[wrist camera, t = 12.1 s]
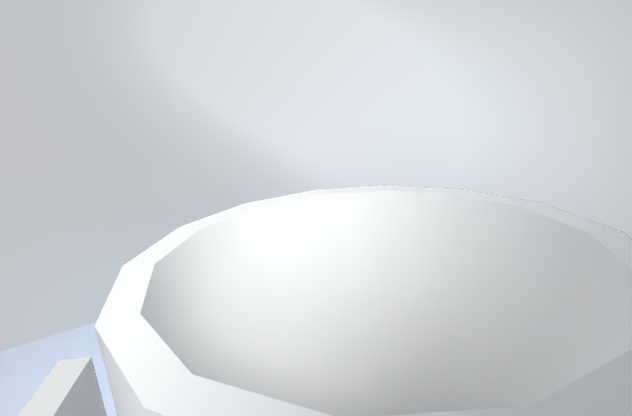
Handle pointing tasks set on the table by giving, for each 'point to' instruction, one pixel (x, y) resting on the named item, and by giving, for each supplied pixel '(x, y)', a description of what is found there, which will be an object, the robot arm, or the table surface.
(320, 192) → the foam cup
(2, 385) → the table surface
